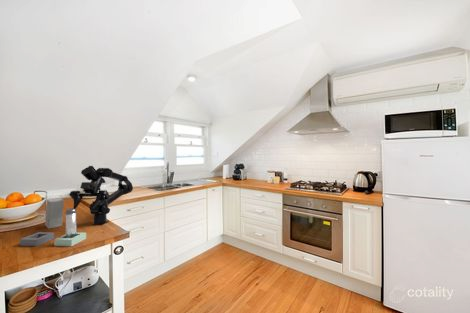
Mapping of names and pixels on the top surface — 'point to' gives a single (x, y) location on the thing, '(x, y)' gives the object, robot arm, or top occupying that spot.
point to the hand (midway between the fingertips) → (83, 208)
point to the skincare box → (54, 213)
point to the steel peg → (71, 223)
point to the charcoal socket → (36, 239)
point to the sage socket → (69, 240)
